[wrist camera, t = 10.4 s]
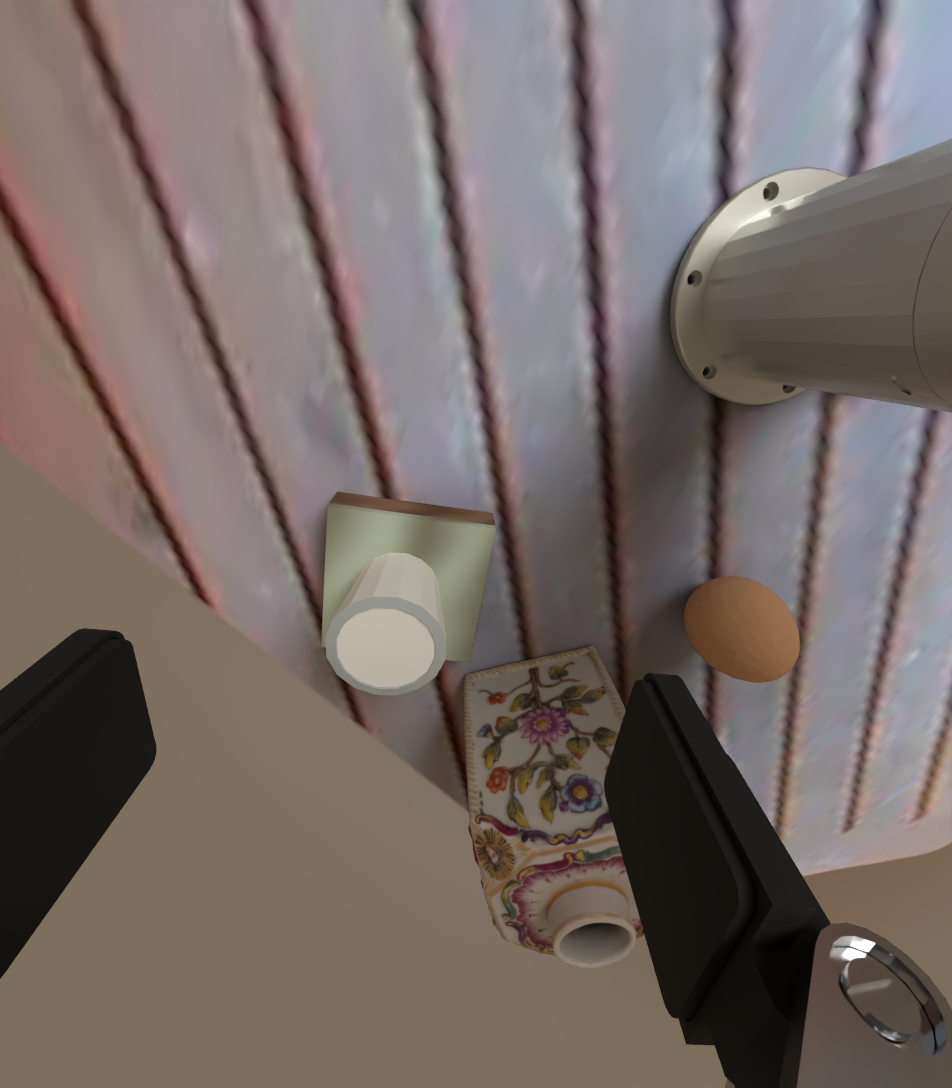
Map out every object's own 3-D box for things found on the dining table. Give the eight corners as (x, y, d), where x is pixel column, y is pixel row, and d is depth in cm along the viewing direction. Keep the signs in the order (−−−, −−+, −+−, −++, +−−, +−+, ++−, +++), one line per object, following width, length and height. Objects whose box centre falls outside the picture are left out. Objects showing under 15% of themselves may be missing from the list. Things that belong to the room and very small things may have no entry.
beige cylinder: (385, 645, 35) (371, 714, 29) (327, 574, 33) (298, 634, 26) (466, 602, 34) (469, 665, 28) (412, 525, 32) (403, 575, 25)
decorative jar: (489, 768, 45) (512, 1018, 29) (459, 671, 40) (465, 906, 24) (614, 741, 45) (711, 981, 28) (598, 640, 40) (703, 858, 23)
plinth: (492, 513, 35) (495, 528, 32) (468, 639, 39) (470, 662, 36) (337, 491, 33) (327, 506, 31) (330, 624, 38) (321, 647, 35)
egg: (765, 567, 38) (852, 632, 30) (728, 637, 40) (798, 715, 32) (687, 551, 37) (754, 614, 29) (654, 624, 39) (707, 701, 31)
